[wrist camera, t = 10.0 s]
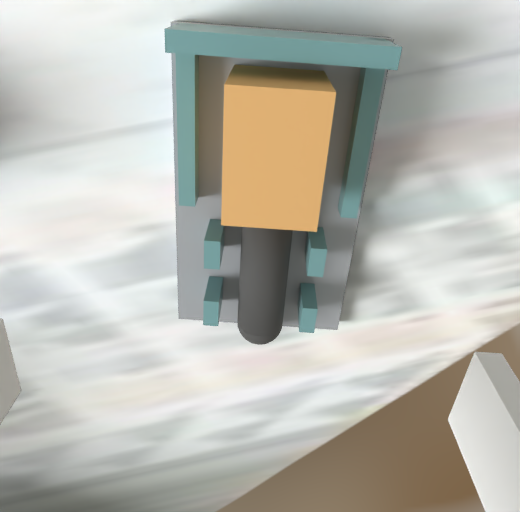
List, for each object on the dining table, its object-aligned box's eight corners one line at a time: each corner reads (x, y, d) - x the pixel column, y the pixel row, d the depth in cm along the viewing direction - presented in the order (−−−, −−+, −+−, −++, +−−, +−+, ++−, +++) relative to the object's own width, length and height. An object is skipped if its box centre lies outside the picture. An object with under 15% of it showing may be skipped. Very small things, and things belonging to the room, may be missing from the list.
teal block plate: (335, 321, 36) (344, 367, 32) (180, 310, 36) (167, 355, 31) (389, 37, 26) (412, 47, 21) (174, 20, 26) (153, 27, 21)
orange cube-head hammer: (292, 327, 35) (295, 386, 30) (226, 322, 35) (217, 381, 30) (323, 70, 26) (336, 92, 21) (234, 64, 26) (224, 84, 21)
